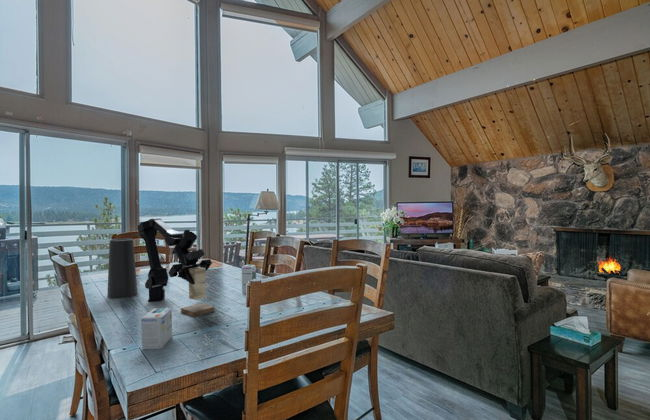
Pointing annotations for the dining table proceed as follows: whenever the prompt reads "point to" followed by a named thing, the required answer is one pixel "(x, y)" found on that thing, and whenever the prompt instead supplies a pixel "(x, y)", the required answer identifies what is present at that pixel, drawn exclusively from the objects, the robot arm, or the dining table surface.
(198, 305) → the walnut block
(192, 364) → the dining table surface
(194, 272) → the maple block
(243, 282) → the syrup box
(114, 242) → the vase
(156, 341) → the light bulb box
